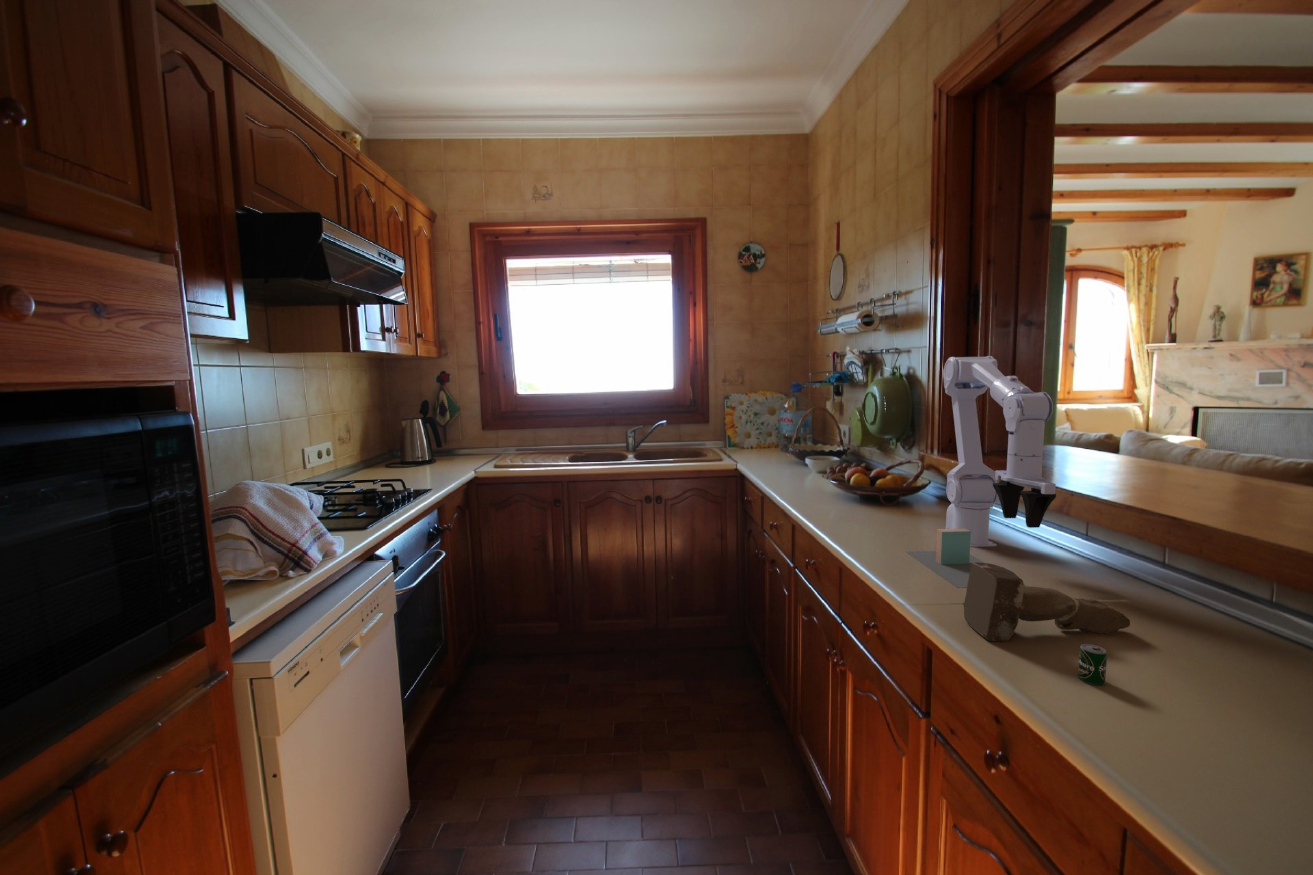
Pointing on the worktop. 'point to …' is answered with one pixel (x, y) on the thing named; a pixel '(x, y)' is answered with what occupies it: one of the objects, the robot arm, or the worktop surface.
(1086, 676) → the beer can
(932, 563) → the mat
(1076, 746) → the worktop surface
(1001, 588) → the sculpture
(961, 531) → the tile
